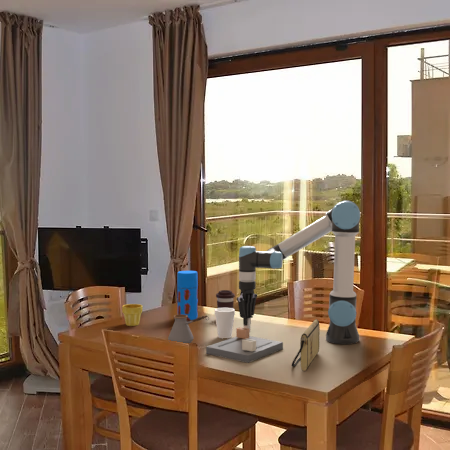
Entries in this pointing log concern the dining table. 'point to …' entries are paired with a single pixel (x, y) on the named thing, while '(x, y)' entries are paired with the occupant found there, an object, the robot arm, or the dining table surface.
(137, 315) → the plant pot
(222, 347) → the slider panel
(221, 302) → the coffee cup
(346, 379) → the dining table surface
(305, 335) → the clutch purse
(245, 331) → the fader
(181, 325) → the coffee pot
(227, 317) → the foam cup
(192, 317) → the thermos
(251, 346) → the fader
